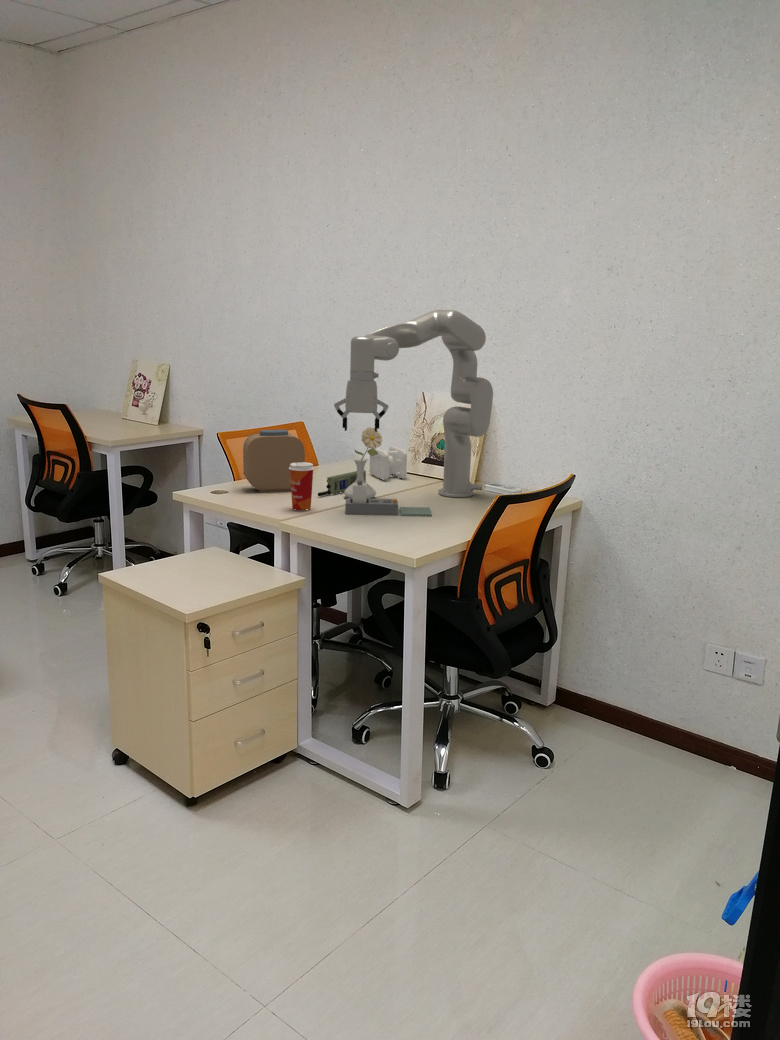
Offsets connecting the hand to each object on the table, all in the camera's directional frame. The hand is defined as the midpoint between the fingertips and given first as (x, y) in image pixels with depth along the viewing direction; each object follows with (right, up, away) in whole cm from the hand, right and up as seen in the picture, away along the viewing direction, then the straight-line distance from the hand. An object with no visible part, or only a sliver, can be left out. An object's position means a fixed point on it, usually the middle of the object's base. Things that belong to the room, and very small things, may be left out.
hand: (360, 430), depth 266 cm
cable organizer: (+8, -12, +62) cm, 64 cm away
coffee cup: (-20, -25, +8) cm, 33 cm away
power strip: (+3, -26, +7) cm, 27 cm away
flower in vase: (0, -21, +26) cm, 33 cm away
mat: (+18, -26, +7) cm, 32 cm away
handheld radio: (-8, -19, +35) cm, 40 cm away
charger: (-1, -26, +6) cm, 27 cm away
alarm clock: (-33, -18, +35) cm, 51 cm away
